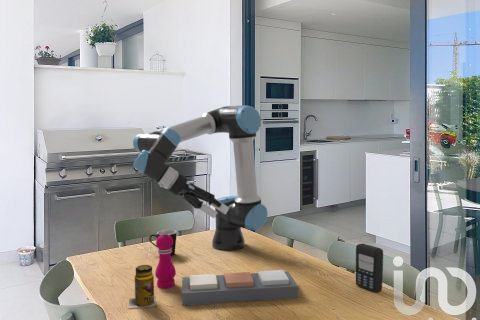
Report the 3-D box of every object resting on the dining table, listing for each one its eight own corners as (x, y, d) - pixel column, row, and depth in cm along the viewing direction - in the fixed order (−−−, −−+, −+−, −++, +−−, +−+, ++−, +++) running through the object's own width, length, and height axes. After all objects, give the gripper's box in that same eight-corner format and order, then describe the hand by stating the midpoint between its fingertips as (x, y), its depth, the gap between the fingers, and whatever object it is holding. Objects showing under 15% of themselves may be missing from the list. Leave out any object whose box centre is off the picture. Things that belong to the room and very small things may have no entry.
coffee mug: (181, 253, 191) (180, 231, 190) (168, 258, 184) (167, 236, 183) (161, 249, 197) (161, 227, 196) (148, 254, 190) (147, 232, 189)
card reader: (353, 285, 152) (354, 244, 151) (360, 283, 155) (361, 242, 153) (375, 294, 145) (376, 250, 144) (383, 291, 147) (384, 248, 146)
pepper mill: (159, 290, 150) (157, 234, 148) (153, 283, 157) (151, 229, 155) (178, 286, 153) (177, 231, 152) (172, 279, 160) (170, 227, 158)
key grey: (258, 279, 152) (258, 271, 152) (283, 278, 153) (283, 270, 153) (262, 289, 143) (262, 280, 143) (289, 288, 145) (289, 279, 144)
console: (182, 288, 152) (182, 277, 151) (288, 281, 157) (288, 271, 156) (182, 305, 138) (182, 293, 138) (298, 297, 143) (298, 286, 142)
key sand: (189, 283, 149) (189, 275, 149) (215, 282, 151) (215, 273, 150) (190, 294, 141) (189, 285, 140) (217, 292, 142) (217, 283, 141)
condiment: (155, 306, 138) (154, 269, 137) (128, 309, 136) (127, 272, 135) (155, 297, 145) (154, 262, 144) (129, 299, 143) (127, 264, 142)
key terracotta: (224, 281, 151) (224, 273, 151) (249, 280, 152) (249, 271, 152) (226, 291, 142) (226, 283, 142) (253, 290, 143) (253, 281, 143)
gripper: (161, 195, 166) (206, 224, 170) (175, 184, 143) (227, 218, 147) (171, 179, 169) (215, 208, 173) (187, 165, 146) (237, 200, 150)
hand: (221, 213), depth 160 cm, fingers open, 13 cm apart
